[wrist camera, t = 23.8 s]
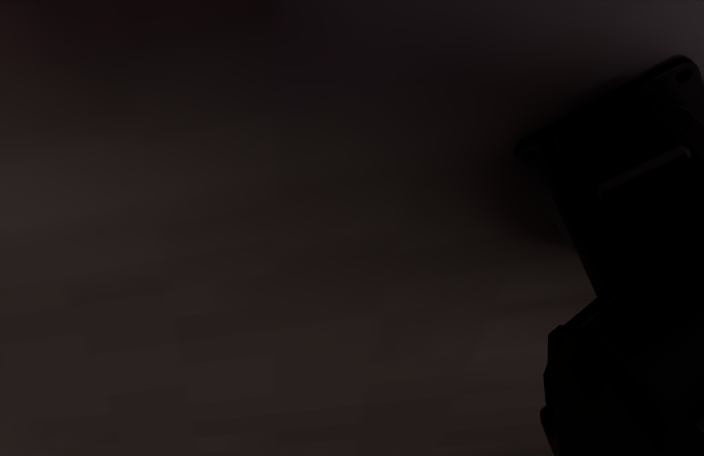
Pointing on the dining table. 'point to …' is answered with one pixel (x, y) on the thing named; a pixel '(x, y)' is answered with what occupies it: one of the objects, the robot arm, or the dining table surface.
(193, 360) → the dining table surface
